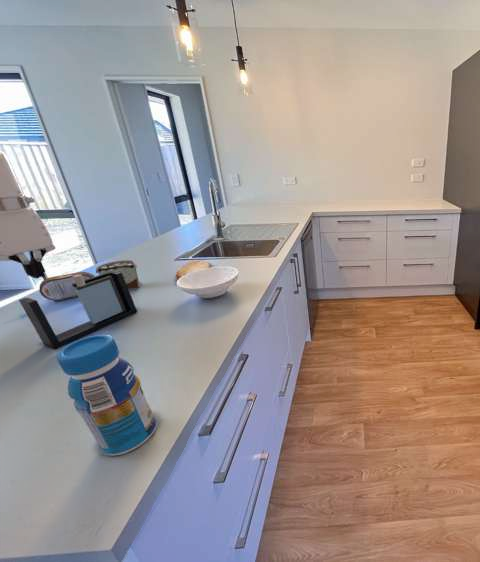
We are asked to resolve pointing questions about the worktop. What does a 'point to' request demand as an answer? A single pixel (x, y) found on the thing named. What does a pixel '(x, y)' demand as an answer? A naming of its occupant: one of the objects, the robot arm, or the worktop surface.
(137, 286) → the food container
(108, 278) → the sliding pane
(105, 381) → the beverage bottle
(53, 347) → the window frame
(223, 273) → the bowl
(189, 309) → the worktop surface
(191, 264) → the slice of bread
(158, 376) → the worktop surface
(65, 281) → the tin
